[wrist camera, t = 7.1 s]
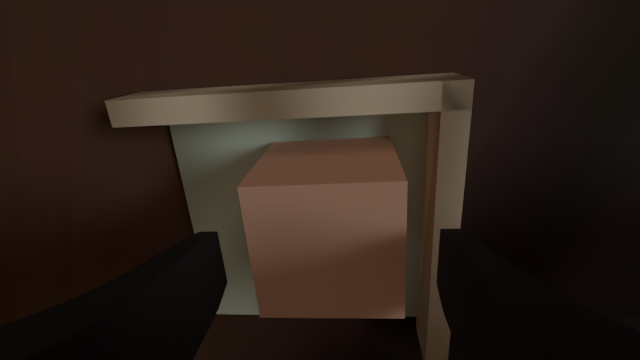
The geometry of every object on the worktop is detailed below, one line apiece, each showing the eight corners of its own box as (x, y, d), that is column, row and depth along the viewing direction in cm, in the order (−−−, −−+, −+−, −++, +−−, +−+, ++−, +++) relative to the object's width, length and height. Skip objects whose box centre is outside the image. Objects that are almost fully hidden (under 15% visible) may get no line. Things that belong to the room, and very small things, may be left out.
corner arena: (453, 72, 13) (474, 78, 11) (435, 327, 18) (447, 368, 16) (143, 91, 15) (104, 100, 13) (201, 323, 20) (181, 361, 17)
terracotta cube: (390, 136, 14) (407, 181, 10) (390, 239, 16) (404, 318, 12) (272, 141, 15) (237, 187, 10) (285, 241, 17) (260, 317, 12)
